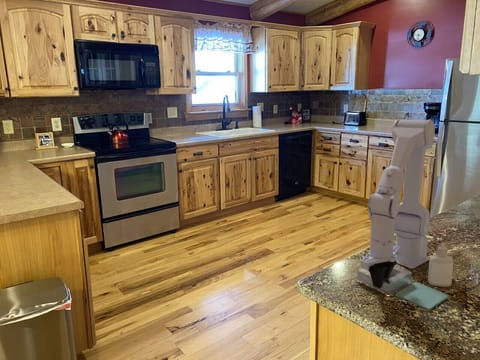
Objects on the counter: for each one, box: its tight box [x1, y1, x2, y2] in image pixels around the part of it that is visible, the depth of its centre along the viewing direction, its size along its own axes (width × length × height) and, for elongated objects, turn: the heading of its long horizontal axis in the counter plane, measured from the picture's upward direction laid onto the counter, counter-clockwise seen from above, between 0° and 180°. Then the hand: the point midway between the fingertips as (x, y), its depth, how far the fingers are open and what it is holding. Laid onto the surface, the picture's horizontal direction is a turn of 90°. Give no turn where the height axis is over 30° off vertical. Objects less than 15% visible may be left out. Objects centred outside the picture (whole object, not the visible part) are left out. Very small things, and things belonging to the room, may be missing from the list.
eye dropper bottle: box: [427, 242, 454, 288], centre depth 102 cm, size 4×6×12 cm
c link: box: [357, 265, 412, 296], centre depth 104 cm, size 10×10×4 cm
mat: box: [394, 281, 450, 312], centre depth 97 cm, size 10×9×1 cm
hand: (379, 285), depth 101 cm, fingers closed on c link, 2 cm apart
